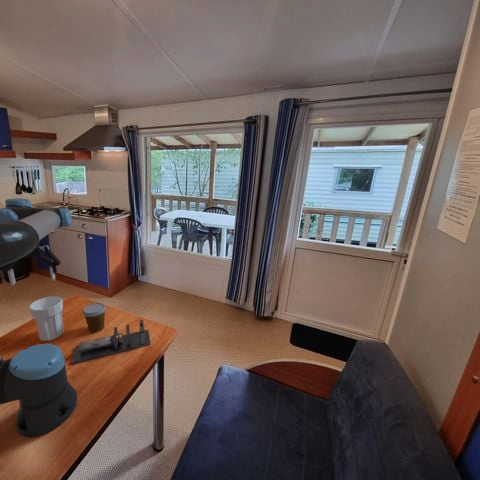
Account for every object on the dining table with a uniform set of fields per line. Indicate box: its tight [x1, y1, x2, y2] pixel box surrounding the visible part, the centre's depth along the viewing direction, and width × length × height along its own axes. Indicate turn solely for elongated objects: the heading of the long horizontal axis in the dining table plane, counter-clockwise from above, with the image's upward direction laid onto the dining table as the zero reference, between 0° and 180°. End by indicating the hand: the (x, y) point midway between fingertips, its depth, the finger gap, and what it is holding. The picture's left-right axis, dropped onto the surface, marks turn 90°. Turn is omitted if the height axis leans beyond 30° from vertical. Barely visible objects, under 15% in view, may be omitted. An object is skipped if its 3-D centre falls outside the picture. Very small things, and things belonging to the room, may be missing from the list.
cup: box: [29, 295, 65, 343], centre depth 102 cm, size 11×11×17 cm
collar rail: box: [71, 319, 151, 365], centre depth 100 cm, size 10×30×8 cm, turn 117°
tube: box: [78, 332, 123, 352], centre depth 98 cm, size 16×4×4 cm, turn 117°
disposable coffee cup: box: [82, 302, 107, 333], centre depth 110 cm, size 10×10×12 cm
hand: (34, 282), depth 99 cm, fingers open, 13 cm apart
